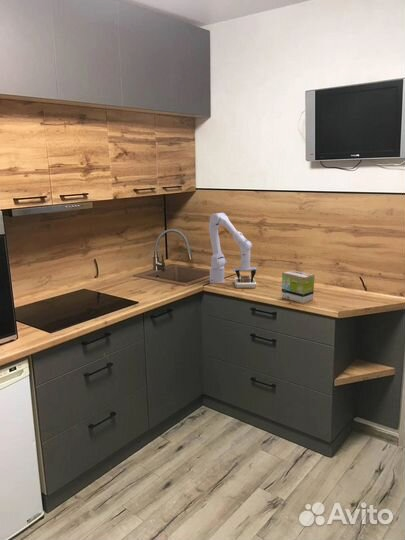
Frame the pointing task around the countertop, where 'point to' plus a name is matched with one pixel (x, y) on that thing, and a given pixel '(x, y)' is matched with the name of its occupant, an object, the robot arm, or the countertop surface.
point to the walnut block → (245, 279)
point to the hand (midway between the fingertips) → (245, 282)
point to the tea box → (297, 286)
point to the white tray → (245, 285)
